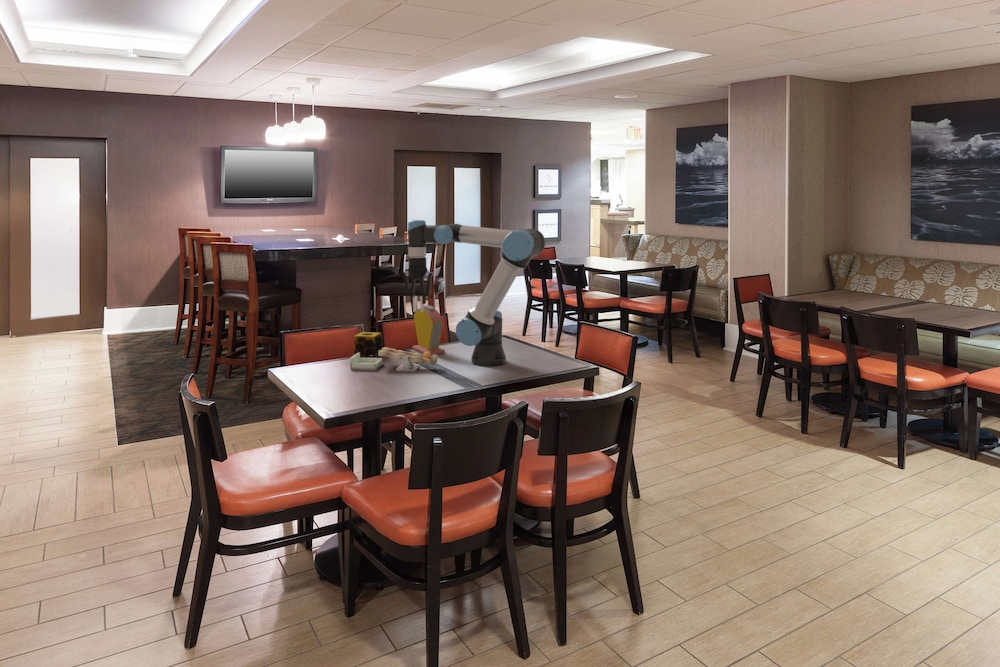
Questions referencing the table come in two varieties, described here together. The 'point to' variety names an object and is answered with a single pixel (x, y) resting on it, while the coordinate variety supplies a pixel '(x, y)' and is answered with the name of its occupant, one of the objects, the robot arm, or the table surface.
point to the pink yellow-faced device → (428, 330)
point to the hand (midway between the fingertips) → (418, 311)
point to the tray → (365, 363)
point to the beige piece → (412, 356)
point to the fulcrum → (407, 365)
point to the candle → (368, 344)
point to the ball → (427, 355)
